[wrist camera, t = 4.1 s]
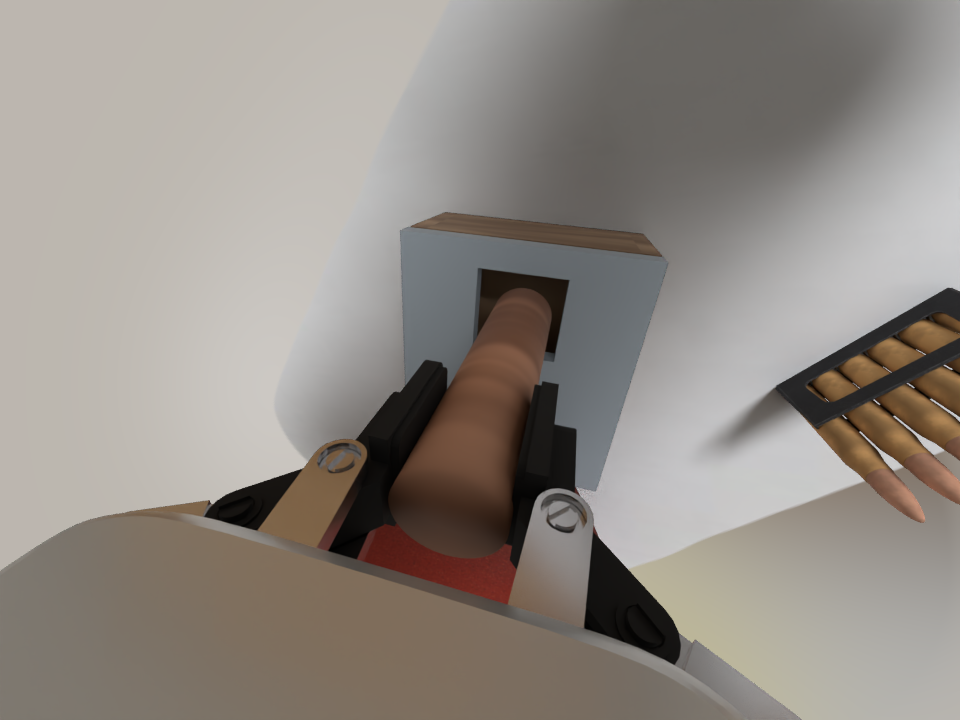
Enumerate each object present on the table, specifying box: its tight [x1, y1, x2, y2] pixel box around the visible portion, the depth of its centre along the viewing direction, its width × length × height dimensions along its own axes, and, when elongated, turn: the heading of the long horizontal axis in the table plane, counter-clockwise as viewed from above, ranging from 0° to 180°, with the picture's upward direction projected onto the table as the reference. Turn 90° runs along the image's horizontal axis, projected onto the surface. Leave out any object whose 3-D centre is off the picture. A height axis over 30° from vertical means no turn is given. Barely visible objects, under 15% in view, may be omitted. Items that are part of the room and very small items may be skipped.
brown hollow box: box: [411, 212, 662, 353], centre depth 27 cm, size 16×14×7 cm
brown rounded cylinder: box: [388, 288, 552, 558], centre depth 14 cm, size 3×3×12 cm
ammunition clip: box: [776, 288, 960, 523], centre depth 20 cm, size 11×2×12 cm, turn 141°
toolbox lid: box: [400, 227, 668, 491], centre depth 22 cm, size 16×14×6 cm
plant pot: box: [363, 487, 598, 605], centre depth 33 cm, size 19×19×17 cm
